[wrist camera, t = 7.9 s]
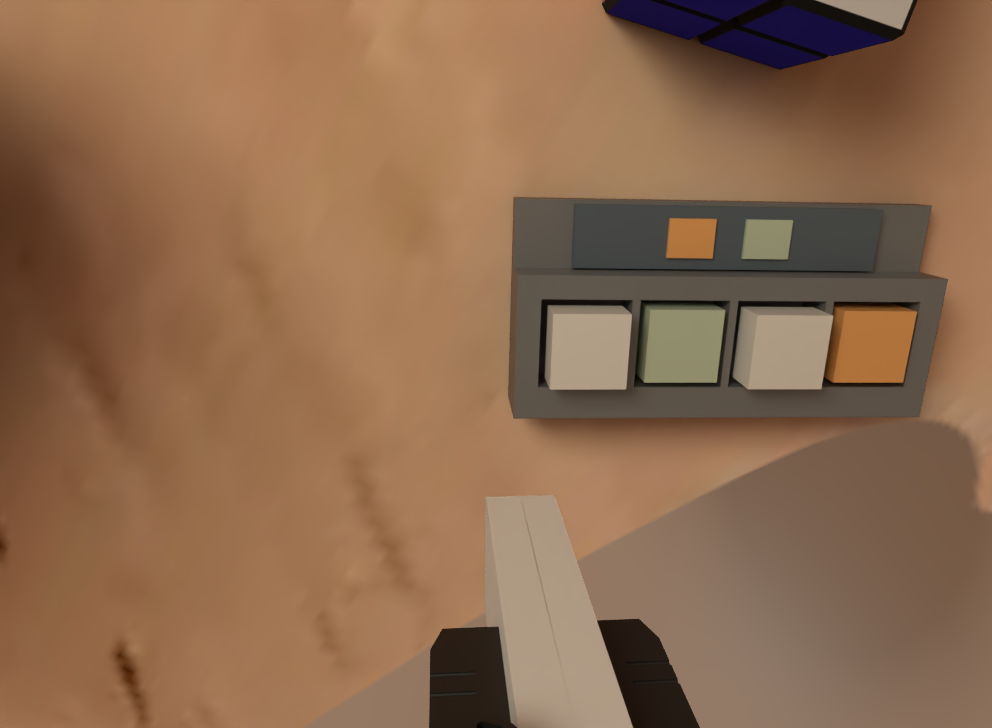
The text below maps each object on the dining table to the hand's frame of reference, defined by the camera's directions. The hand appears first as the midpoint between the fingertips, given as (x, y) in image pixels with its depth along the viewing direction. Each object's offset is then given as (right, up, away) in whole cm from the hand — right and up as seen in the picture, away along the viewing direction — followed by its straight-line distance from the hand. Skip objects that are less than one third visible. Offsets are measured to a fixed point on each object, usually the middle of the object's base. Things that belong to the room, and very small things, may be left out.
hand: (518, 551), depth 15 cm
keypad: (+11, +8, +23) cm, 27 cm away
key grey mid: (+14, +5, +21) cm, 26 cm away
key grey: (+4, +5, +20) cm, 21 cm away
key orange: (+19, +6, +22) cm, 30 cm away
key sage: (+9, +6, +22) cm, 24 cm away
